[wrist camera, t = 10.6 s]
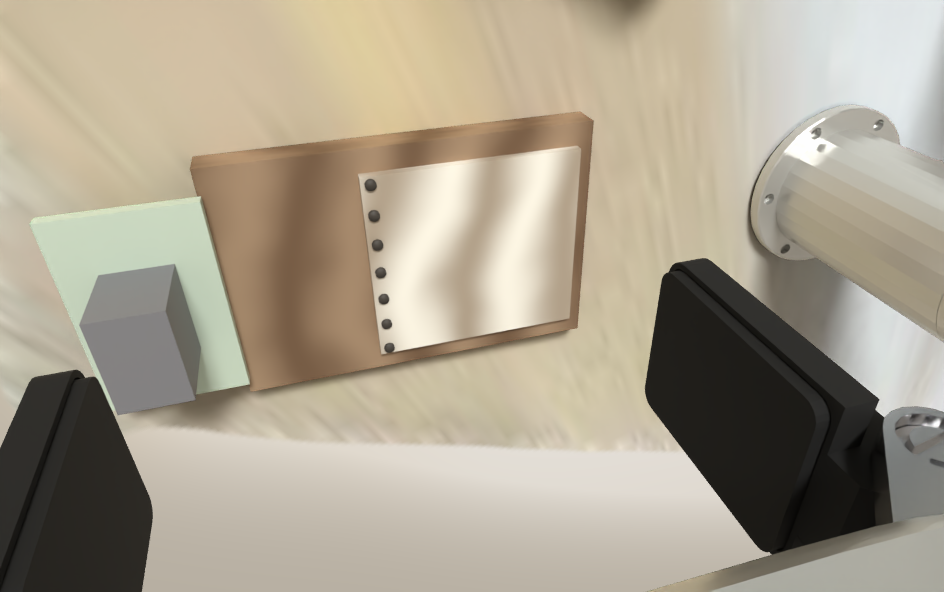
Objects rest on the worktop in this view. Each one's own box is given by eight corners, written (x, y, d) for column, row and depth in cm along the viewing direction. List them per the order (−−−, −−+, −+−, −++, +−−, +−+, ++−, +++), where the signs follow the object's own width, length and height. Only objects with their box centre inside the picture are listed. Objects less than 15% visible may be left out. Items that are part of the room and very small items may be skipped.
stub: (200, 196, 36) (193, 243, 32) (249, 376, 43) (249, 436, 39) (33, 217, 34) (-1, 271, 30) (113, 402, 41) (95, 469, 37)
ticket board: (580, 111, 43) (599, 124, 40) (567, 313, 51) (581, 333, 49) (192, 156, 37) (188, 174, 35) (250, 373, 46) (250, 399, 44)
